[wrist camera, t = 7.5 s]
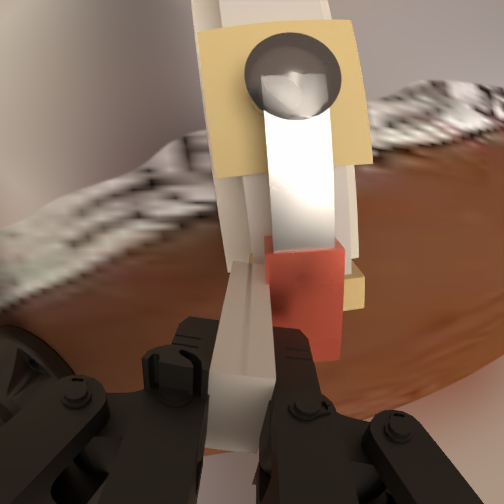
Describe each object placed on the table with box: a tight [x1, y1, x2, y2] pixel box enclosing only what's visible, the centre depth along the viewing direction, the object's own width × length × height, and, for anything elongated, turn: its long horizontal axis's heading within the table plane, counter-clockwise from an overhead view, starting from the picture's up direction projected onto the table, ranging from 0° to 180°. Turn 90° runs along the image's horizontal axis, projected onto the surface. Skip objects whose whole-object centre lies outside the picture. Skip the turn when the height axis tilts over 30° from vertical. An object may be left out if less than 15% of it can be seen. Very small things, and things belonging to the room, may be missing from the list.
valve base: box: [191, 0, 373, 311], centre depth 15 cm, size 9×20×10 cm, turn 7°
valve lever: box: [244, 32, 345, 362], centre depth 11 cm, size 12×3×2 cm, turn 5°
